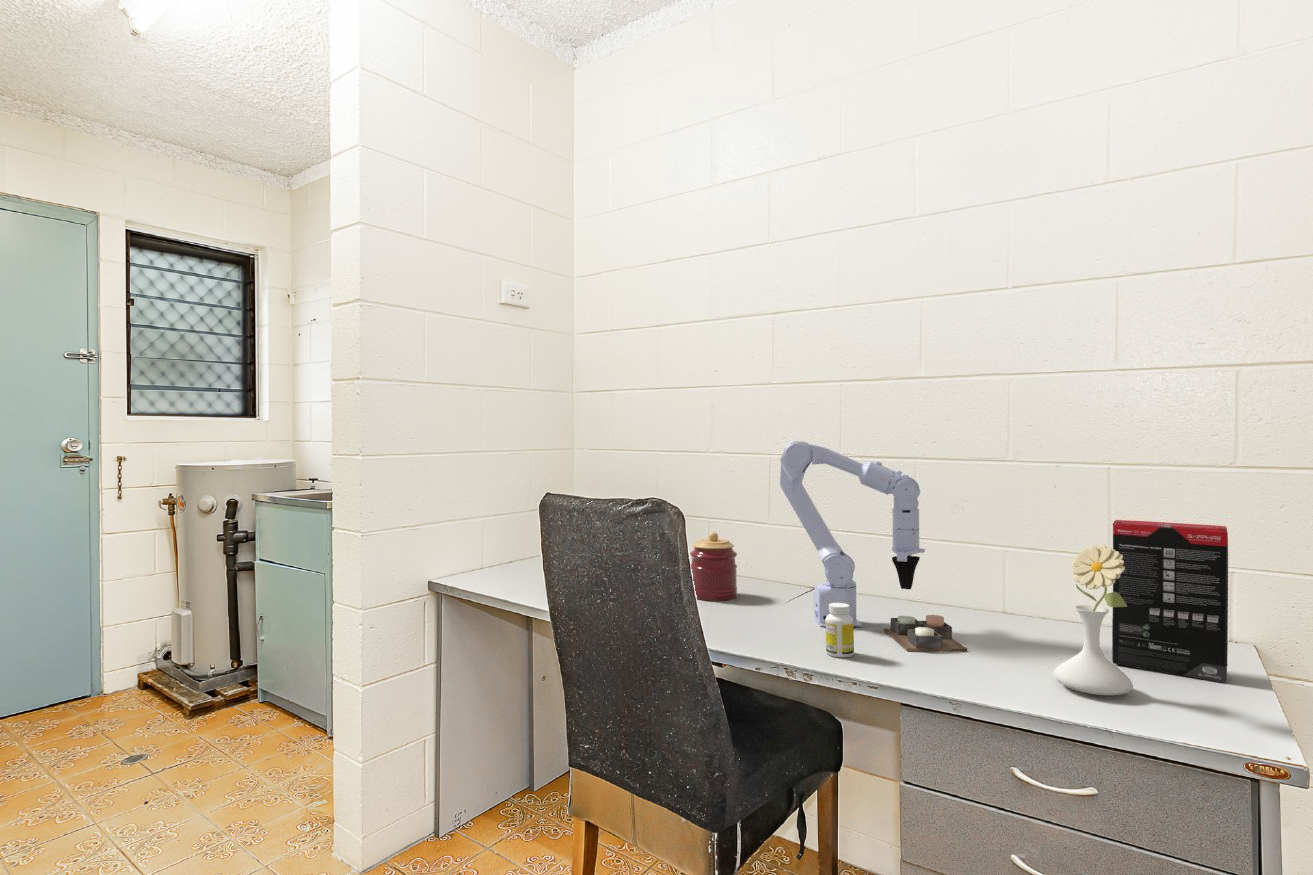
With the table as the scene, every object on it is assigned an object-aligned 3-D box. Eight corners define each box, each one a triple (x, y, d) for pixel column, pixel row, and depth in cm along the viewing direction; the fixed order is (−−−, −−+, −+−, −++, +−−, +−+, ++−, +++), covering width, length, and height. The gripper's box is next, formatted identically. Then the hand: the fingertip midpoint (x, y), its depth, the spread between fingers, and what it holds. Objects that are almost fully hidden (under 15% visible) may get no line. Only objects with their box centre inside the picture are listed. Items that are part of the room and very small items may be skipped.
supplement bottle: (854, 651, 137) (854, 602, 137) (853, 659, 132) (852, 609, 132) (826, 649, 139) (826, 601, 139) (824, 656, 134) (824, 606, 134)
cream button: (919, 644, 138) (918, 631, 138) (912, 639, 142) (912, 627, 142) (936, 644, 138) (936, 631, 138) (930, 639, 142) (930, 627, 142)
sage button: (900, 631, 148) (900, 619, 148) (895, 627, 151) (895, 615, 151) (917, 632, 147) (917, 619, 147) (911, 627, 151) (911, 615, 151)
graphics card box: (1228, 675, 123) (1226, 523, 123) (1231, 685, 117) (1228, 527, 118) (1114, 657, 133) (1112, 517, 133) (1111, 666, 128) (1110, 521, 128)
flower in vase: (1038, 679, 121) (1037, 538, 121) (1099, 677, 122) (1098, 537, 122) (1091, 707, 108) (1089, 549, 108) (1159, 705, 109) (1157, 548, 109)
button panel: (907, 651, 137) (907, 636, 137) (884, 631, 152) (884, 617, 152) (967, 651, 137) (967, 636, 137) (938, 631, 152) (938, 617, 152)
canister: (744, 600, 183) (743, 534, 183) (697, 602, 180) (697, 536, 180) (728, 590, 196) (727, 528, 196) (684, 592, 193) (684, 530, 193)
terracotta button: (929, 631, 145) (929, 619, 145) (923, 626, 149) (923, 614, 149) (946, 631, 145) (946, 619, 145) (940, 626, 149) (940, 614, 149)
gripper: (921, 533, 147) (921, 596, 147) (927, 526, 160) (928, 584, 160) (887, 531, 150) (887, 593, 150) (896, 524, 163) (896, 581, 163)
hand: (906, 588), depth 155 cm, fingers closed
